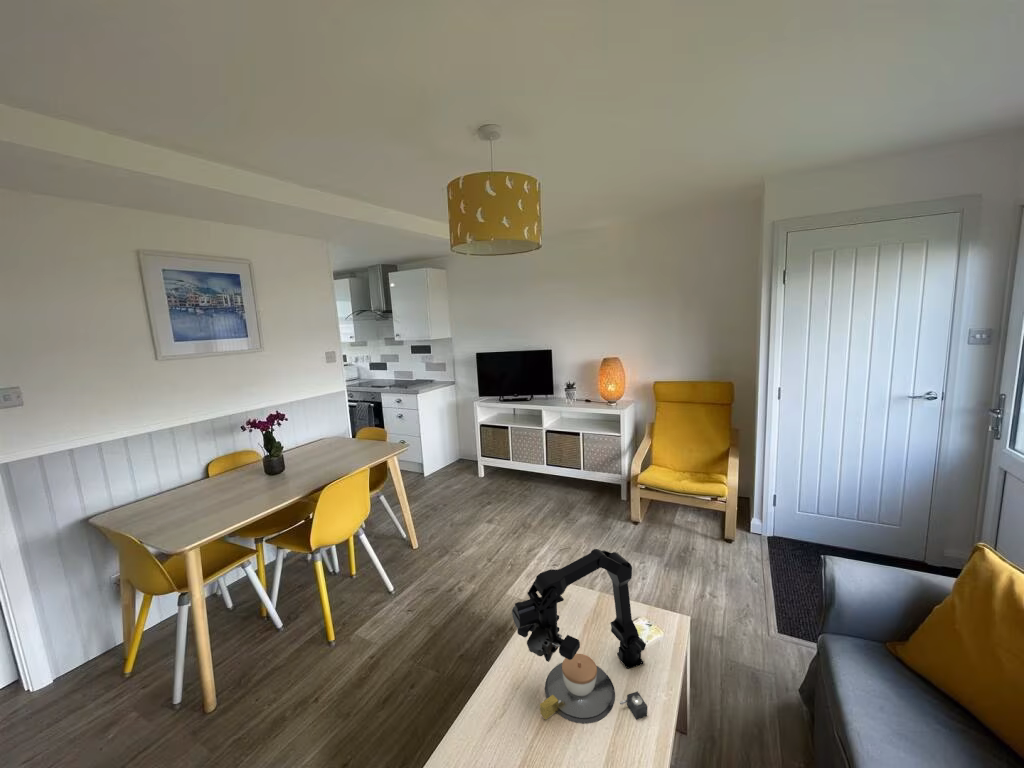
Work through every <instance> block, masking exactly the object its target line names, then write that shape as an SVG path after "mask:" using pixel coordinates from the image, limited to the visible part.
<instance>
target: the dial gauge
mask: <svg viewBox="0 0 1024 768" xmlns="http://www.w3.org/2000/svg"><path fill="white" fill-rule="evenodd" d="M619 704H620V705H623V704H626V706H627V707H628V709H629V710H630V712H631V714H632V716H633V717H634V718H635V720H636V721H637V720H640V719H643V718H645V717H648V705H647V703H646V702H645V700H644V699H643V697H642V696H641V694H640V693H639V691H635V692H631V693H627V694H626V699H624V700H621V701H620V702H619Z"/></svg>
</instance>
